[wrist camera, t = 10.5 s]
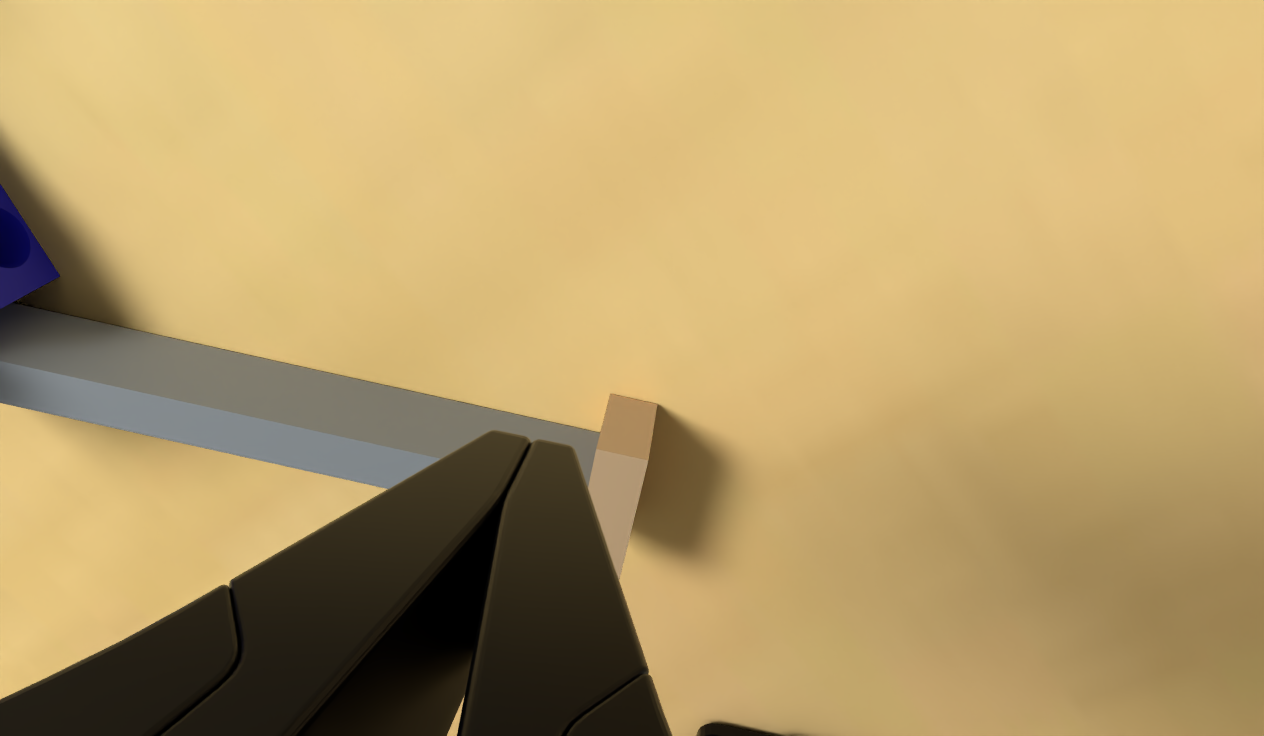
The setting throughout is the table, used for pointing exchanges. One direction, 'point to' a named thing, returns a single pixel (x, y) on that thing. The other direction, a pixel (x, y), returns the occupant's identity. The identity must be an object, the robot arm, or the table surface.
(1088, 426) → the table surface
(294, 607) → the robot arm
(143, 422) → the grey piece
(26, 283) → the blue notched block
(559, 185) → the table surface
